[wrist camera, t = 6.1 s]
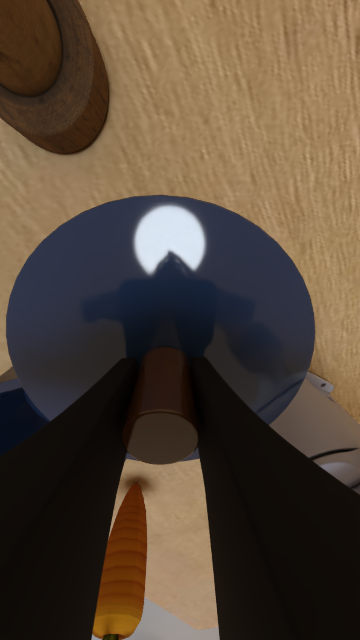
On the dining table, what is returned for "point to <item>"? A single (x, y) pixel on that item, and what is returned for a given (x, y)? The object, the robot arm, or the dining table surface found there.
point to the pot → (16, 413)
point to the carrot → (123, 571)
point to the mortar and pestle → (51, 74)
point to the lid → (160, 316)
